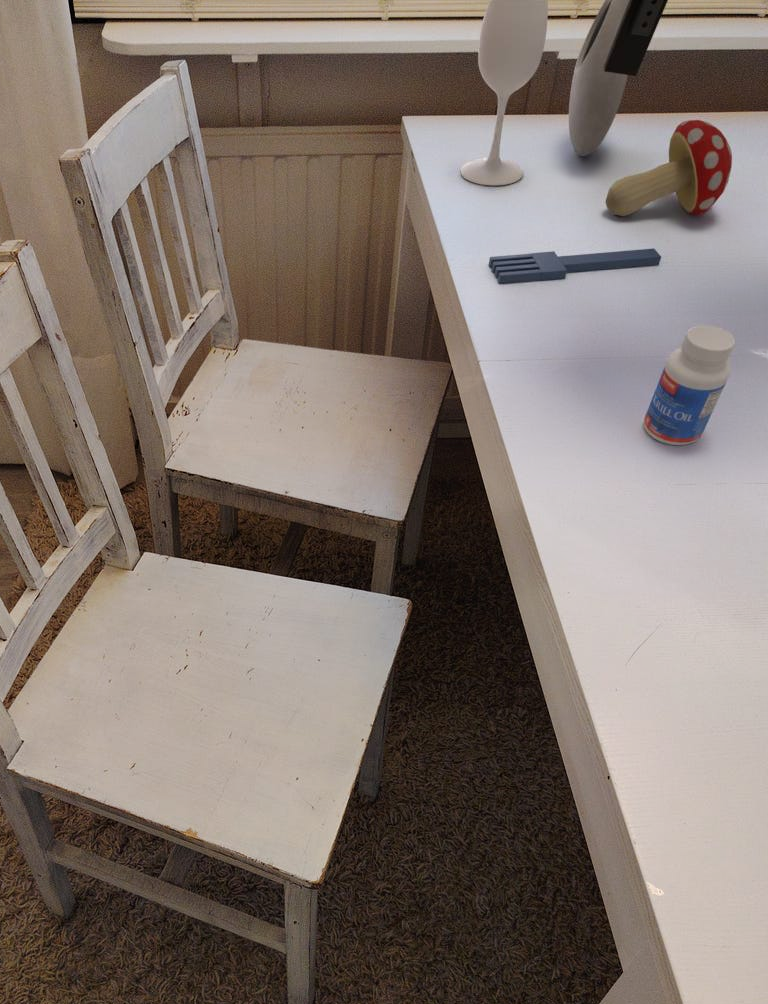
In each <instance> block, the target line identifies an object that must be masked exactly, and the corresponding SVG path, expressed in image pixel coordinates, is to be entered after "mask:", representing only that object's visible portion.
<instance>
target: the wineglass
mask: <svg viewBox="0 0 768 1004" xmlns="http://www.w3.org/2000/svg"><path fill="white" fill-rule="evenodd" d="M548 16H549V0H488V2H487V5H486V7H485V12H484V16H483V19H482V24H481V28H480V34H479V41H478V50H477V54H478V55H477V64H478V69H479V73H480V75H481V77H482V79H483V81H484V82H485V84H486V85H487V86H488V87H489V88H490V89H491V90H492V91H494V92H495V94H496V96H497V109H496V119H495V126H494V131H493V136H492V137H493V138H492V141H491V145H490V150H489V155H488V157H481V158H475V159H473V160H470V161H468V162H466V163H465V164H464V165H463V166H462V167H461V169H460V174H461V176H462V177H463V178H464V179H465V180H467V181H469V182H471V183H474V184H478V185H483V186H506V185H510V184H514V183H516V182H518V181H519V180H521V179H522V177H523V176H524V170H523V169H522V168H521V166H520V165H518V164H517V163H516V162H513V161H511V160H508V159H506V158H501V157H500V152H501V150H500V149H501V138H502V131H503V125H504V118H505V113H506V109H507V104H508V101H509V100H510V99H509V98H510V97H511V96H512V94H514V93H515V92H516V91H518V90H520V89H521V88H522V87H524V86H525V85H526V84H527V83H528V82H529V81H530V80H531V79H532V78H533V76H534V75H535V73H536V72H537V70H538V68H539V66H540V63H541V60H542V58H543V53H544V49H545V44H546V38H547V31H548V19H549V18H548Z"/></svg>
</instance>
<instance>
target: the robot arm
mask: <svg viewBox="0 0 768 1004" xmlns="http://www.w3.org/2000/svg"><path fill="white" fill-rule="evenodd" d="M668 1H669V0H629V2H628V5H627V8H626V10H625V13H624V15H623V18H622V21H621V23H620V26H619V28H618V31H617V34H616V36H615V39H614V41H613V44H612V46H611V49H610V52H609V54H608V57H607V59H606V62H605V65H604V71H605V72H611V73H618V74H625V75H628V76H633V77H637V75H638V72H639V70H640V67H641V66H642V63H643V61H644V59H645V56H646V53H647V51H648V49H649V46H650V44H651V41H652V39H653V37H654V34H655V32H656V30H657V28H658V25H659V22H660V20H661V18H662V15H663V13H664V11H665V9H666V6H667V3H668Z"/></svg>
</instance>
